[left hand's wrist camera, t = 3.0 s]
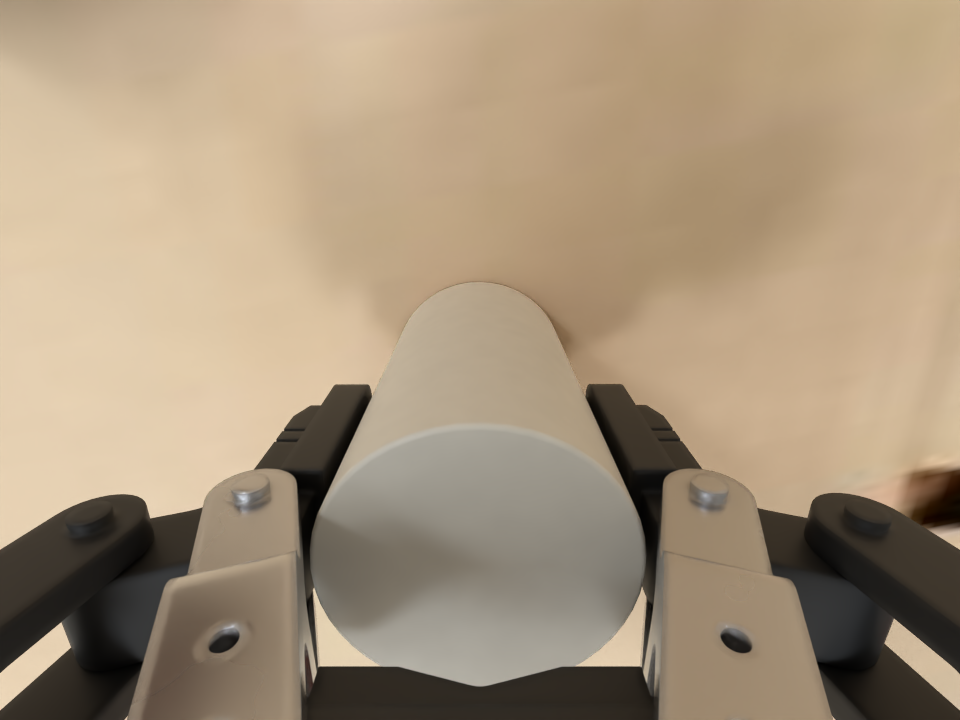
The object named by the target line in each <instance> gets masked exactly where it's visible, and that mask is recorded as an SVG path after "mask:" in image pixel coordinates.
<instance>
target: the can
mask: <svg viewBox="0 0 960 720" xmlns="http://www.w3.org/2000/svg"><path fill="white" fill-rule="evenodd" d="M645 566H646V543H645V535H644V531H643V527H642V523H641V520H640V517H639V515H638V513H637V510H636V508H635V506H634V504H633V501H632V499H631V497H630V495H629V492H628V490H627V488H626V486H625V484H624V481H623V479H622V477H621V475H620V473H619V470H618V468H617V466H616V464H615V462H614V459H613V457H612V455H611V453H610V451H609V448H608V446H607V444H606V442H605V439H604V437H603V435H602V433H601V431H600V428H599V426H598V424H597V422H596V420H595V417H594V415H593V413H592V411H591V409H590V406H589V404H588V402H587V400H586V398H585V395H584V393H583V391H582V389H581V386H580V384H579V382H578V380H577V378H576V375H575V373H574V371H573V369H572V367H571V364H570V362H569V360H568V358H567V356H566V353H565V351H564V349H563V347H562V345H561V342H560V340H559V338H558V336H557V333H556V331H555V329H554V327H553V325H552V323H551V321H550V320H549V318H548V317H547V315H546V314H545V313H544V312H543V310H542V309H541V308H540V307H539V306H538V305H537V304H536V303H535V302H534V301H533V300H531V299H530V298H528V297H527V296H525V295H524V294H522V293H520V292H518V291H516V290H515V289H512V288H509V287H507V286H504V285H500V284H495V283H488V282H469V283H463V284H458V285H455V286H452V287H448V288H446V289H444V290H442V291H440V292H437V293H436V294H434V295H433V296H431V297H430V298H428V299H427V300H426V301H425V302H423V303H422V304H421V305H420V306H419V307H418V308H417V309H416V311H415V312H414V313H413V314H412V316H411V317H410V319H409V320H408V321H407V323H406V325H405V327H404V330H403V332H402V334H401V336H400V338H399V340H398V342H397V344H396V347H395V349H394V351H393V353H392V355H391V357H390V359H389V362H388V364H387V366H386V368H385V370H384V372H383V375H382V377H381V379H380V381H379V383H378V385H377V387H376V390H375V392H374V394H373V396H372V398H371V400H370V402H369V405H368V407H367V409H366V411H365V413H364V415H363V417H362V420H361V422H360V424H359V426H358V428H357V430H356V432H355V435H354V437H353V439H352V441H351V443H350V445H349V448H348V450H347V452H346V454H345V456H344V458H343V460H342V463H341V465H340V467H339V469H338V471H337V473H336V475H335V478H334V480H333V482H332V484H331V486H330V488H329V490H328V493H327V495H326V497H325V499H324V501H323V503H322V505H321V508H320V510H319V512H318V514H317V517H316V520H315V524H314V527H313V530H312V536H311V544H310V568H311V574H312V578H313V583H314V588H315V591H316V593H317V596H318V598H319V601H320V604H321V606H322V607H323V609H324V611H325V613H326V614H327V616H328V618H329V620H330V621H331V622H332V624H333V625H334V626H335V627H336V629H337V630H338V631H339V633H340V634H341V635H342V636H343V637H344V638H345V639H346V640H347V641H348V642H349V643H350V644H351V645H352V646H353V647H354V648H356V649H357V650H358V651H360V652H361V653H362V654H363V655H365V656H366V657H367V658H369V659H370V660H372V661H374V662H375V663H377V664H379V665H380V666H382V667H402V668H405V669H409V670H413V671H417V672H421V673H425V674H429V675H433V676H437V677H441V678H444V679H448V680H452V681H456V682H460V683H464V684H468V685H472V686H488V685H492V684H496V683H500V682H504V681H508V680H512V679H516V678H519V677H523V676H527V675H531V674H535V673H539V672H543V671H547V670H551V669H555V668H558V667H574V666H576V665H578V664H580V663H581V662H583V661H585V660H586V659H587V658H589V657H590V656H592V655H593V654H594V653H596V652H597V651H598V650H600V649H601V648H602V647H603V646H604V645H605V644H606V643H607V642H608V641H609V640H610V639H611V638H613V636H614V635H615V634H616V633H617V632H618V630H619V629H620V628H621V627H622V626H623V624H624V623H625V621H626V620H627V618H628V616H629V615H630V613H631V612H632V610H633V608H634V606H635V604H636V601H637V599H638V597H639V594H640V591H641V587H642V583H643V580H644V575H645Z"/></svg>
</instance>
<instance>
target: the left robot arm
mask: <svg viewBox="0 0 960 720" xmlns="http://www.w3.org/2000/svg"><path fill="white" fill-rule="evenodd" d="M371 398H372V394H371V389H370V386H369V385H334V387H333V388H332V390H331V391H330V393H329V394H328V396H327V397H326V399H325V400H324V402H323V403H322V405H321V406H309V407H308V408H306V409H304V410H303V411H301V412H300V413H298V414H296V415H295V416H293V418H292V419H291V420H290V422H289V423H288V424H287V426H286V427H285V429H284V431H282V433H281V434H280V435H279V437H278V438H277V441H276V442H274V443H273V445H272V446H271V447H270V449H269V450H268V451H267V453H266V454H265V456H264V457H263V458H262V460H261V461H260V462H259V464H258V465H257V466H256V468H255V469H254V470H251V471H246V472H243V473H240V474H237V475H234V476H232V477H230V478H228V479H226V480H224V481H222V482H221V483H219V484H218V485H216V486H215V487H214V488H213V489H212V490H211V491H210V492H209V493H208V495H207V496H206V498H205V501H204V505H203V508H199V509H196V510H192V511H187V512H182V513H177V514H172V515H167V516H161V517H156V518H151V519H150V516H149V513H148V509H147V505H146V503H145V501H144V500H143V499H141V498H139V497H137V496H133V495H126V494H120V495H109V496H104V497H99V498H95V499H91V500H88V501H85V502H82V503H80V504H77V505H75V506H72V507H70V508H68V509H66V510H64V511H62V512H60V513H59V514H57V515H55V516H54V517H52V518H50V519H49V520H47V521H46V522H44V523H42V524H41V525H39V526H38V527H36V528H34V529H33V530H31V531H30V532H28V533H26V534H25V535H23V536H22V537H20V538H18V539H17V540H15V541H14V542H12V543H10V544H9V545H7V546H6V547H4V548H2V549H1V550H0V673H1V672H2V671H3V670H4V669H5V668H6V667H7V666H9V665H10V664H11V663H12V662H13V661H15V660H16V659H17V658H18V657H19V656H21V655H22V654H23V653H24V652H26V651H27V650H28V649H29V648H30V647H32V646H33V645H34V644H35V643H36V642H38V641H39V640H40V639H41V638H43V637H44V636H45V635H46V634H47V633H49V632H50V631H51V630H52V629H53V628H55V627H56V626H57V625H58V624H59V623H61V622H62V625H63V627H64V630H65V632H66V635H67V638H68V640H69V643H70V645H71V648H70V649H69V650H68V651H67V652H66V653H65V654H64V655H62V656H61V657H60V658H59V659H58V660H57V661H56V662H55V663H53V664H52V665H51V666H50V667H49V668H48V669H47V670H45V671H44V672H43V673H42V674H41V675H40V676H39V677H38V678H36V679H35V680H34V681H33V682H32V683H31V684H30V685H29V686H27V687H26V688H25V689H24V690H23V691H22V692H21V693H20V694H18V695H17V696H16V697H15V698H14V699H13V700H12V701H11V702H9V703H8V704H7V705H6V706H5V707H4V708H3V709H1V710H0V720H124V719H125V718H126V717H127V716H128V718H127V720H833V718H832V716H833V717H834V718H835V719H836V720H960V710H958V709H957V708H956V707H955V706H954V705H953V704H952V703H951V702H949V701H948V700H947V699H946V698H945V697H944V696H943V695H942V694H940V693H939V692H938V691H937V690H936V689H935V688H934V687H933V686H931V685H930V684H929V683H928V682H927V681H926V680H925V679H924V678H922V677H921V676H920V675H919V674H918V673H917V672H916V671H915V670H913V669H912V668H911V667H910V666H909V665H908V664H907V663H905V662H904V661H903V660H902V659H901V658H900V657H899V656H898V655H896V654H895V653H894V652H893V651H892V650H891V649H890V648H889V647H887V646H886V645H885V644H884V643H885V640H886V638H887V635H888V632H889V630H890V627H891V625H892V622H893V619H896V620H897V621H898V622H899V623H900V624H902V625H903V626H904V627H905V628H907V629H908V630H909V631H910V632H911V633H913V634H914V635H915V636H916V637H917V638H919V639H920V640H921V641H922V642H924V643H925V644H926V645H927V646H928V647H930V648H931V649H932V650H933V651H934V652H936V653H937V654H938V655H939V656H941V657H942V658H943V659H944V660H945V661H947V662H948V663H949V664H950V665H951V666H952V667H954V668H955V669H956V670H957V671H958V672H959V674H960V550H959V549H958V548H956V547H954V546H953V545H951V544H950V543H948V542H946V541H945V540H943V539H942V538H940V537H938V536H937V535H935V534H934V533H932V532H930V531H929V530H927V529H926V528H924V527H922V526H921V525H919V524H918V523H916V522H914V521H913V520H911V519H910V518H908V517H906V516H905V515H903V514H902V513H900V512H898V511H896V510H895V509H893V508H891V507H888V506H886V505H884V504H882V503H879V502H877V501H874V500H871V499H868V498H864V497H861V496H856V495H851V494H844V493H828V494H823V495H820V496H818V497H816V498H815V499H814V500H813V501H812V504H811V507H810V511H809V515H808V518H804V517H798V516H793V515H788V514H783V513H778V512H773V511H768V510H763V509H759V508H757V505H756V501H755V498H754V496H753V495H752V493H751V492H750V491H749V490H748V489H747V488H746V487H745V486H744V485H742V484H741V483H739V482H738V481H736V480H734V479H732V478H730V477H728V476H726V475H723V474H720V473H717V472H714V471H709V470H703V469H702V468H701V467H700V465H699V464H698V463H697V461H696V460H695V459H694V457H693V456H692V454H691V453H690V452H689V450H688V449H687V448H686V446H685V445H684V443H683V442H682V441H680V438H679V437H678V435H677V434H676V432H675V431H673V430H672V427H671V426H670V424H669V423H668V422H667V420H666V419H665V417H664V416H663V415H661V414H660V413H658V412H656V411H655V410H653V409H652V408H650V407H648V406H647V405H635V403H634V402H633V400H632V398H631V397H630V395H629V394H628V392H627V391H626V389H625V388H624V386H623V385H622V384H589V385H588V386H587V390H586V396H585V398H586V400H587V402H588V404H589V406H590V409H591V411H592V413H593V415H594V417H595V420H596V422H597V424H598V426H599V428H600V431H601V433H602V435H603V437H604V439H605V442H606V444H607V446H608V448H609V451H610V453H611V455H612V457H613V459H614V462H615V464H616V466H617V468H618V470H619V473H620V475H621V477H622V479H623V481H624V484H625V486H626V488H627V490H628V492H629V495H630V497H631V499H632V501H633V504H634V506H635V508H636V510H637V513H638V515H639V517H640V520H641V523H642V527H643V531H644V535H645V543H646V566H645V575H644V580H643V583H642V587H643V590H644V592H645V595H646V602H645V608H644V620H643V633H642V647H641V660H640V667H558V668H555V669H551V670H547V671H543V672H539V673H535V674H531V675H527V676H523V677H519V678H516V679H512V680H508V681H504V682H500V683H496V684H492V685H488V686H472V685H468V684H464V683H460V682H456V681H452V680H448V679H444V678H441V677H437V676H433V675H429V674H425V673H421V672H417V671H413V670H409V669H405V668H402V667H320V660H319V647H318V633H317V620H316V608H315V602H314V595H313V588H314V583H313V578H312V574H311V568H310V544H311V536H312V530H313V527H314V524H315V520H316V517H317V514H318V512H319V510H320V508H321V505H322V503H323V501H324V499H325V497H326V495H327V493H328V490H329V488H330V486H331V484H332V482H333V480H334V478H335V475H336V473H337V471H338V469H339V467H340V465H341V463H342V460H343V458H344V456H345V454H346V452H347V450H348V448H349V445H350V443H351V441H352V439H353V437H354V435H355V432H356V430H357V428H358V426H359V424H360V422H361V420H362V417H363V415H364V413H365V411H366V409H367V407H368V405H369V402H370V400H371Z"/></svg>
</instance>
